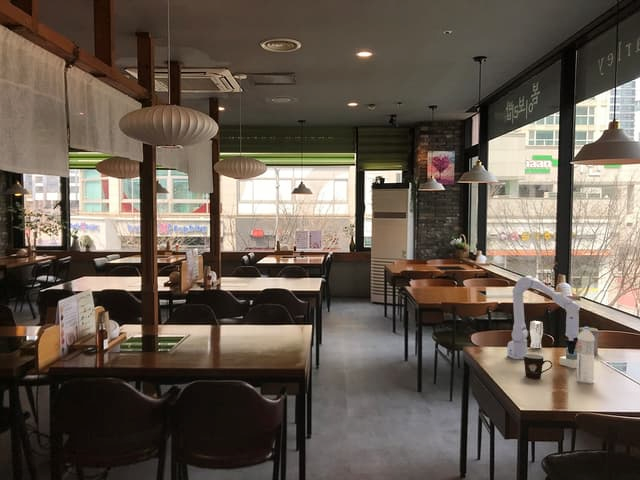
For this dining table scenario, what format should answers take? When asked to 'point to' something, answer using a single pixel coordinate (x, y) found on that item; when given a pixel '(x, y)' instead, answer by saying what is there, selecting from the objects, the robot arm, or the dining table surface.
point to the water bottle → (585, 357)
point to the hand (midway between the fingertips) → (571, 352)
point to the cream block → (568, 362)
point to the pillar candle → (595, 333)
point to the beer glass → (536, 333)
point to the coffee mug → (534, 366)
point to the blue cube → (571, 356)
